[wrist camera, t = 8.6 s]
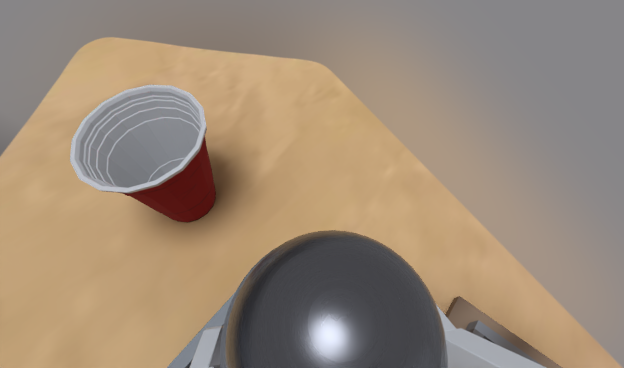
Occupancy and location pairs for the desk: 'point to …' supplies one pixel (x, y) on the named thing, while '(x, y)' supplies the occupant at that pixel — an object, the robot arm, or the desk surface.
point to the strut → (333, 309)
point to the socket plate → (493, 331)
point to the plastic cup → (148, 150)
